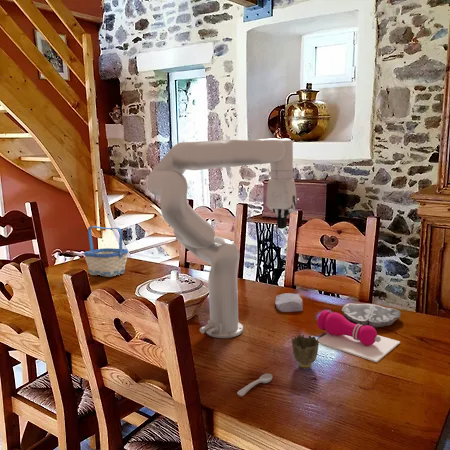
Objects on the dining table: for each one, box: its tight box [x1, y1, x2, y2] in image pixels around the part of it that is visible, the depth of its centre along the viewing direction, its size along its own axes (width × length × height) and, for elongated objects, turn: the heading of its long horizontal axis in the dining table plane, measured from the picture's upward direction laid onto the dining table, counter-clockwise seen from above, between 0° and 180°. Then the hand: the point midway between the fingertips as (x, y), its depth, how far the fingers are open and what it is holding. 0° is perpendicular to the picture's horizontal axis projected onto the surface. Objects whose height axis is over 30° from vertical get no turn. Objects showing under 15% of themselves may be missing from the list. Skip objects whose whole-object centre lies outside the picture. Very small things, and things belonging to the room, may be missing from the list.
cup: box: [291, 334, 320, 370], centre depth 126 cm, size 8×7×8 cm
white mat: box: [317, 332, 401, 363], centre depth 140 cm, size 16×20×1 cm
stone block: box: [274, 292, 304, 313], centre depth 172 cm, size 12×5×10 cm
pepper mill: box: [316, 309, 381, 346], centre depth 141 cm, size 7×7×20 cm
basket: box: [83, 225, 129, 278], centre depth 218 cm, size 21×16×24 cm
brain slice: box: [341, 303, 402, 328], centre depth 157 cm, size 20×17×3 cm
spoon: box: [236, 373, 273, 397], centre depth 118 cm, size 3×12×2 cm, turn 132°
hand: (281, 227), depth 158 cm, fingers closed
